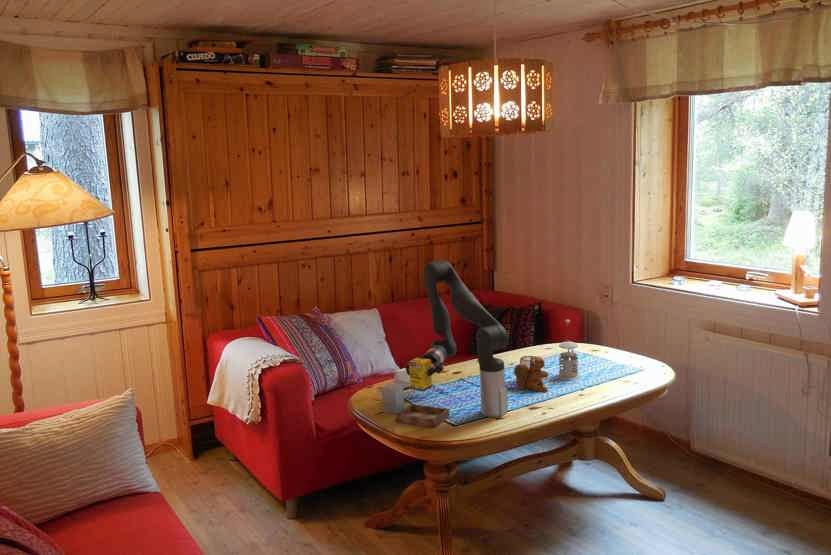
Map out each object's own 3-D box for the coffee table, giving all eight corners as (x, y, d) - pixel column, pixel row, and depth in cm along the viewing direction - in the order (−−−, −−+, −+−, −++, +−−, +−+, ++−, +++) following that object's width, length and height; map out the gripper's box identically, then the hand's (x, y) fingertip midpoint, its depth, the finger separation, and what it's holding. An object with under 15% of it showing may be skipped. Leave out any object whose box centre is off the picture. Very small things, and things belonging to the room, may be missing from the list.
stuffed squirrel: (549, 392, 284) (548, 360, 282) (513, 392, 286) (512, 361, 284) (548, 384, 294) (547, 353, 291) (514, 384, 296) (513, 354, 294)
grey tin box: (404, 409, 274) (402, 384, 272) (396, 414, 269) (395, 389, 267) (390, 407, 277) (389, 382, 275) (383, 412, 271) (381, 387, 270)
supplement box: (410, 389, 262) (408, 361, 260) (419, 384, 266) (417, 356, 265) (423, 392, 258) (421, 363, 256) (432, 387, 263) (430, 358, 261)
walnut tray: (449, 416, 263) (449, 408, 263) (435, 427, 253) (434, 419, 253) (412, 411, 271) (411, 403, 270) (396, 422, 261) (396, 414, 260)
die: (416, 390, 297) (418, 369, 301) (400, 385, 292) (402, 363, 296) (403, 393, 302) (405, 372, 307) (388, 388, 297) (390, 366, 302)
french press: (555, 379, 299) (554, 321, 295) (559, 371, 310) (558, 315, 306) (578, 380, 296) (577, 322, 292) (582, 372, 307) (581, 316, 302)
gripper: (413, 350, 276) (399, 362, 261) (448, 351, 272) (436, 364, 256) (414, 368, 277) (400, 382, 262) (449, 370, 273) (437, 384, 258)
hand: (418, 373), depth 259 cm, fingers closed on supplement box, 7 cm apart
